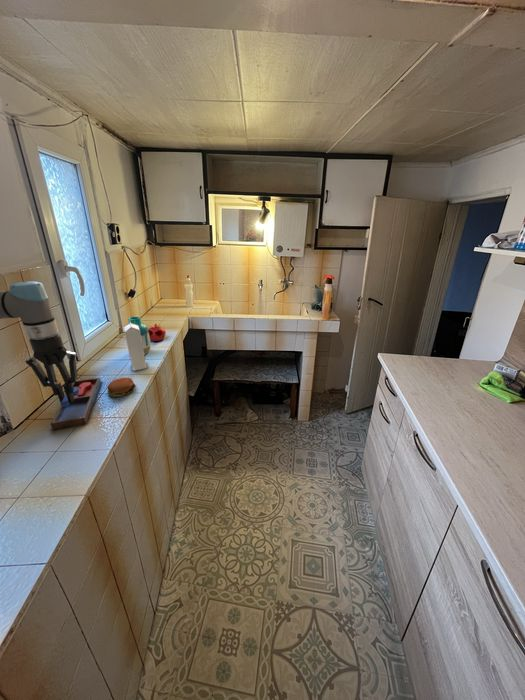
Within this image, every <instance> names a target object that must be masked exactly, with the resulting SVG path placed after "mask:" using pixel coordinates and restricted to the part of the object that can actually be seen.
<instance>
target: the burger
mask: <svg viewBox="0 0 525 700" xmlns="http://www.w3.org/2000/svg"><path fill="white" fill-rule="evenodd" d="M136 387H137V386H136V384H135V382H134V380H133V379H132V378H131V377H120V378H117V379H114V380H112V381H110V382H109V384H108V385H107V394H108V395H109V396H110V397H112V398H119V397H122V396H126V395H129V394H131V392H133V391H134V390H135V389H136Z"/></svg>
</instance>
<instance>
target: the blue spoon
mask: <svg viewBox="0 0 525 700" xmlns="http://www.w3.org/2000/svg"><path fill="white" fill-rule="evenodd" d="M64 394H65V397H64V399H63V400H62V402H61V403H62V406H63V407H68V406H69V405H70V403H69V401H68V398H67V396H66V393H65V392H64ZM72 394H73V397H74V396H76V395H78V394H79V390H78V388H77V387H74V391H73V393H72ZM61 403H60V404H61Z"/></svg>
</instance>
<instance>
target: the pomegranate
mask: <svg viewBox="0 0 525 700" xmlns="http://www.w3.org/2000/svg"><path fill="white" fill-rule="evenodd" d="M148 332H149V336H150V342H161V341H164V339H165V337H166V333H167V331H166V329H164V328H163V327H162V326H161V325H158V324H157V323H155V324H154V325H153V326H151V327H149V328H148Z"/></svg>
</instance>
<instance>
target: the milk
mask: <svg viewBox="0 0 525 700" xmlns="http://www.w3.org/2000/svg"><path fill="white" fill-rule="evenodd" d="M123 331H124V336H125V341H126V345H127V351H128V355H129V359H130V364H131V368H132V371H133V372H134V371H139V370H144V369H147V368H148V366H147V361H146V357H145V354H144V351H143V345H142V340H141V335H140V330H139V327H138V326H137V325H135V324H132V323H130V324H129V323H128V324H127V325H125V326H124V327H123Z"/></svg>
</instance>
